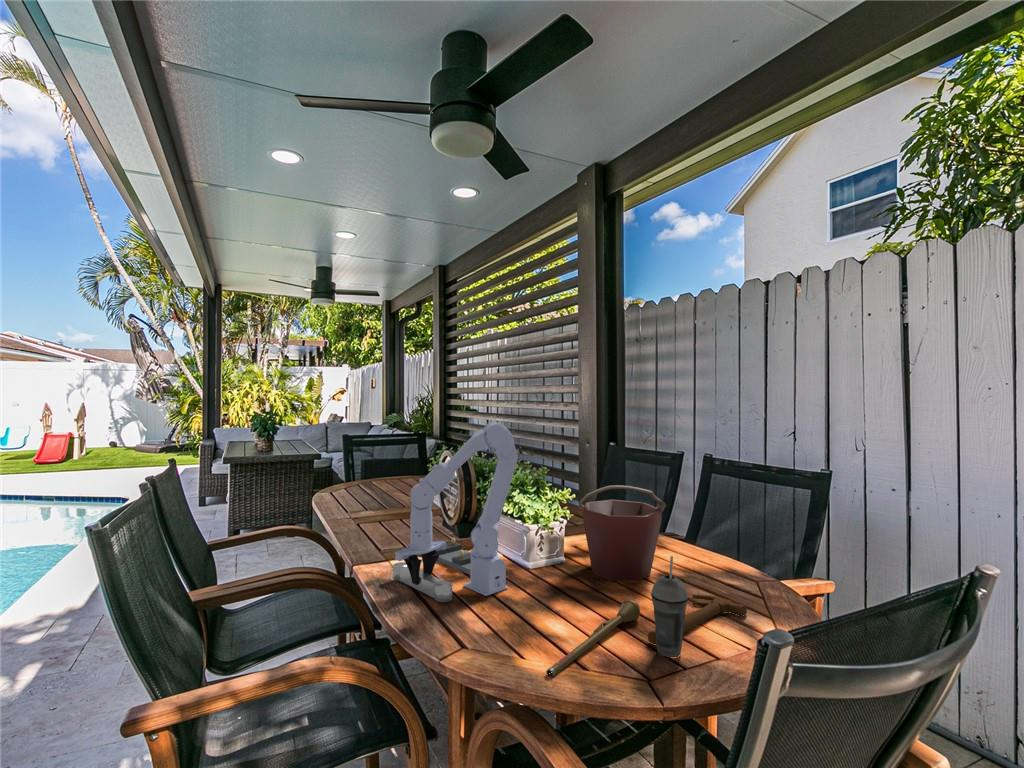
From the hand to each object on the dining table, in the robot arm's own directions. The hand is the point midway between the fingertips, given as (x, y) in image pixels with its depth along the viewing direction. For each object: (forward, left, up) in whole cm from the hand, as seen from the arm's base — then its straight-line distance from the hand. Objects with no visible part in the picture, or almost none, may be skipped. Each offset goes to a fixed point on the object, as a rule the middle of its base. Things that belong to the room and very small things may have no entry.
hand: (421, 581), depth 140 cm
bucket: (-27, -51, -3) cm, 58 cm away
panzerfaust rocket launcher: (-49, -12, -3) cm, 50 cm away
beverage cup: (-61, -19, -3) cm, 64 cm away
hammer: (-57, -34, -3) cm, 67 cm away
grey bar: (0, 0, -2) cm, 2 cm away
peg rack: (+13, -22, -2) cm, 26 cm away
